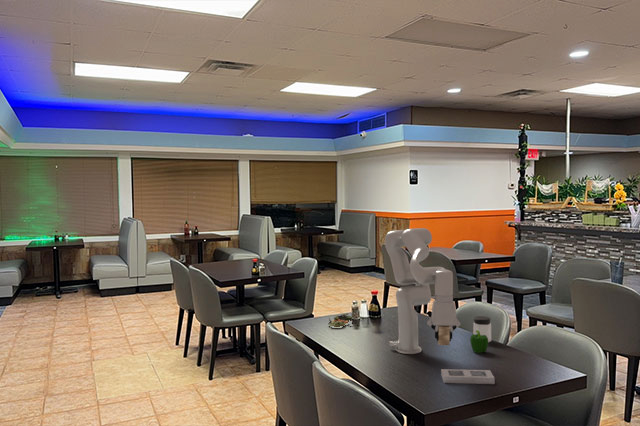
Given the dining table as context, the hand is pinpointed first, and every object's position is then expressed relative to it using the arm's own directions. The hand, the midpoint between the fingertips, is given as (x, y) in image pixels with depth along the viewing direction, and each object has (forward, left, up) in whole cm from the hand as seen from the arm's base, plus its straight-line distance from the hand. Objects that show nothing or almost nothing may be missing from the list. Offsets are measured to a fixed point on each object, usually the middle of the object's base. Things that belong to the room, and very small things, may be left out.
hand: (443, 339), depth 219 cm
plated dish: (-49, +78, -15) cm, 94 cm away
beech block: (0, 0, -2) cm, 2 cm away
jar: (+25, +47, -14) cm, 55 cm away
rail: (+8, -10, -14) cm, 19 cm away
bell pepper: (+20, +28, -14) cm, 38 cm away
